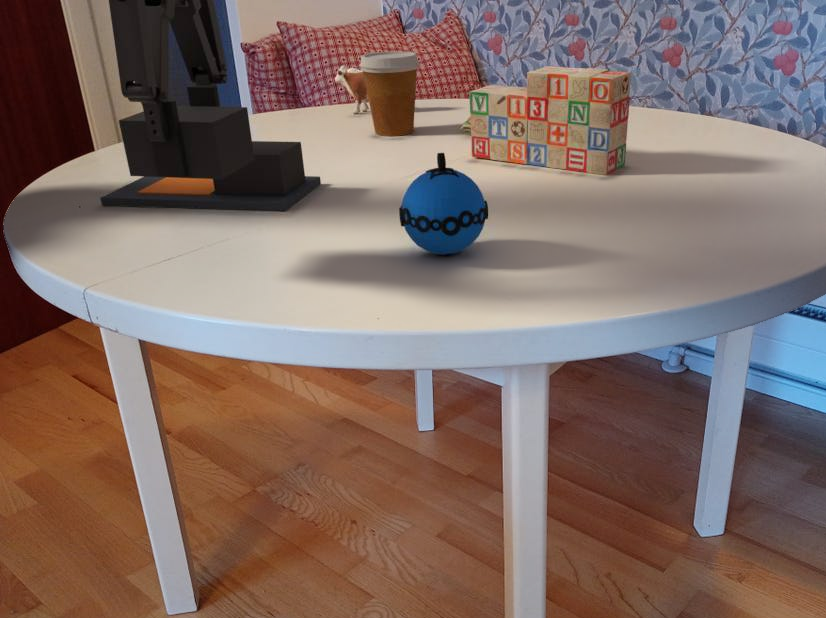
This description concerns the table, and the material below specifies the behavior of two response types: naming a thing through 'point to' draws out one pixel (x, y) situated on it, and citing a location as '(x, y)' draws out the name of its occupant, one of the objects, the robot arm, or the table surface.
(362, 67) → the disposable coffee cup
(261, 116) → the table surface
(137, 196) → the pad base
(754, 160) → the table surface
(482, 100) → the stack of blocks
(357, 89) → the bull figurine
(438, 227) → the ornament
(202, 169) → the loose block
